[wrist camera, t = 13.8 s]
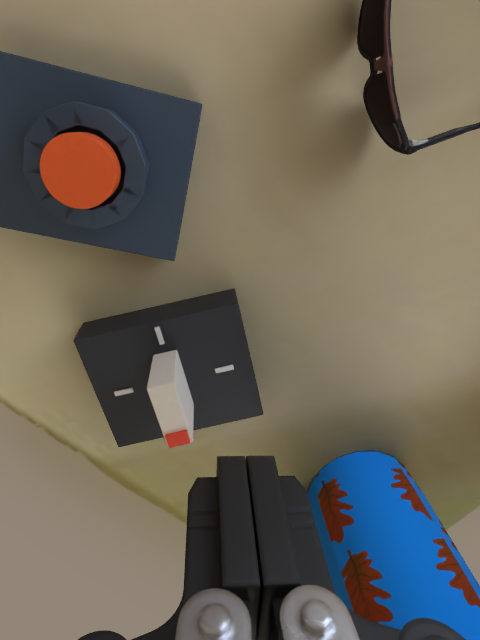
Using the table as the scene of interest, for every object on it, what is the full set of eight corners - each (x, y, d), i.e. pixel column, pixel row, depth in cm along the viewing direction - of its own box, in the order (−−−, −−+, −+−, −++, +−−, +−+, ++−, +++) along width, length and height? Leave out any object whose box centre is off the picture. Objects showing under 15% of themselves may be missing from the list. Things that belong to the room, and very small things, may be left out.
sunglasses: (334, -24, 26) (376, -59, 21) (512, -68, 27) (588, -111, 22) (356, 159, 30) (395, 162, 26) (509, 114, 31) (572, 110, 27)
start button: (124, 141, 25) (119, 142, 23) (116, 209, 27) (110, 215, 25) (53, 124, 25) (41, 123, 23) (49, 195, 26) (37, 200, 24)
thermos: (316, 541, 46) (432, 949, 23) (294, 468, 41) (410, 884, 19) (416, 513, 45) (634, 901, 23) (404, 436, 41) (660, 823, 18)
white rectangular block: (153, 354, 32) (146, 390, 27) (177, 349, 32) (173, 384, 27) (171, 409, 34) (167, 450, 30) (194, 404, 34) (193, 444, 30)
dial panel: (234, 288, 33) (238, 303, 31) (258, 393, 38) (263, 415, 35) (83, 322, 33) (72, 341, 31) (124, 424, 38) (118, 448, 35)
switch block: (202, 105, 28) (202, 102, 24) (175, 252, 32) (173, 269, 28) (5, 54, 26) (-27, 42, 22) (2, 218, 30) (-25, 231, 26)
